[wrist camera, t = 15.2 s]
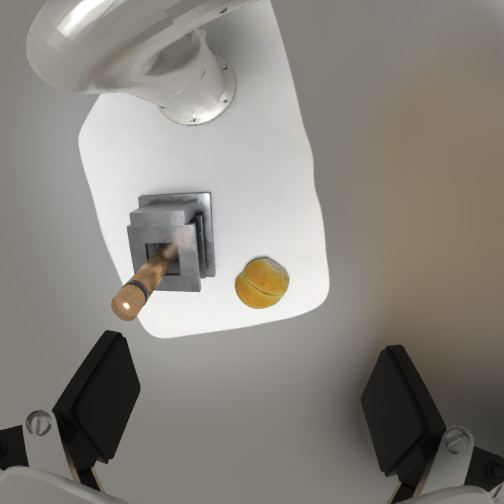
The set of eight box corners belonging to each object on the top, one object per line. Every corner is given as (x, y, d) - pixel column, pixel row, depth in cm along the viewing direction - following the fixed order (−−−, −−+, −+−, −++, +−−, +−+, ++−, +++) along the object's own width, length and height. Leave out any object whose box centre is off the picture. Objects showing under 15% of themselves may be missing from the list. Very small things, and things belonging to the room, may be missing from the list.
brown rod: (166, 234, 43) (107, 294, 25) (184, 234, 43) (133, 296, 25) (168, 252, 44) (115, 319, 26) (186, 252, 44) (140, 322, 26)
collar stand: (140, 196, 42) (116, 207, 34) (210, 192, 42) (198, 202, 34) (150, 273, 47) (132, 296, 39) (215, 274, 47) (206, 299, 39)
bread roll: (227, 288, 48) (225, 299, 44) (257, 249, 45) (256, 258, 41) (266, 311, 49) (266, 324, 46) (296, 275, 47) (299, 286, 43)
